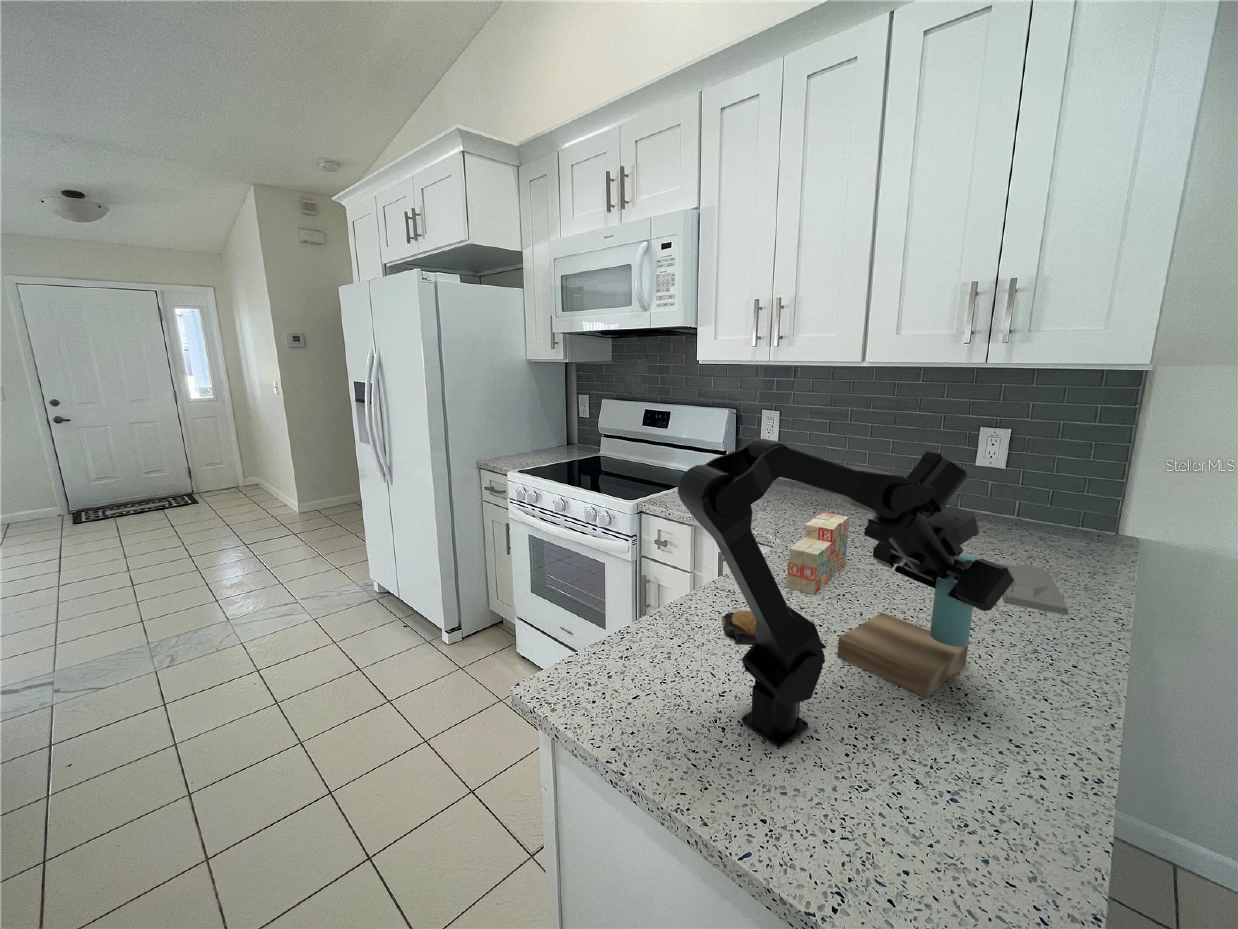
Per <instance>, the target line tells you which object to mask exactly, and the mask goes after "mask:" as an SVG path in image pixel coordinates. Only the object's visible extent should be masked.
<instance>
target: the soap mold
mask: <svg viewBox="0 0 1238 929" xmlns="http://www.w3.org/2000/svg"><path fill="white" fill-rule="evenodd" d="M998 564H999V565H1002V566H1004V567H1007V568H1008V570H1009V571H1010V572H1011V574H1012V575H1013V578H1014V581H1013V583H1012V584H1011V585H1010V587H1009V588H1008V589H1007V590H1006V592H1005V593H1004V594H1003V595H1002V597H1001V598H1002V601H1003V604H1006V605H1007V604H1008V605H1014V606H1018V607H1019V606H1020V607H1024V608H1029V609H1033V610H1039V611H1046V612H1050V613H1056V614H1061V615H1066V616H1069V608H1068V606H1067V604H1066V602H1065V601H1064V599H1063V597H1062V594H1061V592H1060V591H1059V589H1058V586H1057V585H1056V583H1055V581H1054V579H1053V578H1052V575H1051V574H1050V571H1049V570H1044V569H1043V568H1042V567H1038V566H1033V565H1030V564H1018V565H1017V564H1015V565H1014V564H1013V565H1012V564H1004V563H998Z"/></svg>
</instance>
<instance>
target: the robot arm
mask: <svg viewBox="0 0 1238 929" xmlns="http://www.w3.org/2000/svg"><path fill="white" fill-rule="evenodd" d="M780 477H782V478H785V479H788V480H791V481H795V482H797V483H801V484H804V485H808V486H810V487H814V488H817V489H821V490H825V491H828V492H830V493H832V494H834V495H835V496H836V497H837V498H839V499H840V500H842V501H844V502H845V503H846V504H849V505H851V506H852V507H855V508H858V509H861V510H864V511H867V512H870V513H871V514H874V516H873V517H872V518H868V520H867V525H866V526H865V528H864V532H863V535H864V536H865V537H867V538H870V539H871V540H872V539H873V540H875V541H877V542H878V543H877V544H876V545H875V546H874V547H873V549H872V557H873V559H874V560H875V561H876V562H877V564H880V565H882V566H884V567H886V568H888V569H890V570H891V569H893V568H894V567H895V568H894V571H895V572H896V573H898V574H900V575H902V576H903V577H906V578H908V579H911V580H913V581H915V582H918V583H921V584H922V585H925V586H928V587H930V588H932V589H934V590H935V587H936V579H937V578H940V579H942V580H944V581H946V580H947V579H948V578H949V576H953V577H954V578H953V580H954V581H955V582H957V583H955V584H954V585H955V586H954V587H953V588H952V590H951V591H950V592H949V593H948V596H950V597H952V598H954V599H956V600H959V601H961V602H963V603H966V604H969V605H971V606H973V608H976V609H978V610H980V611H982V612H989V611H992V609H993V608H994V607H995V606H996V605H997V604H998V602H999V600H1000V599H1001V598H1003V597H1002V595H1003V594H1004V593H1005V592H1006V590H1007V589H1008V588H1009V587H1010V585H1011V584H1012V583H1013V581H1014V578H1013V575H1012V574H1011V572H1010V571H1009V570H1008V568H1007V567H1004V566H1002V565H999V563H996V562H993V561H990V560H988V559H985V558H977V560H975V561H972V560H967V561H965V562H962V561H959V560H956V559H954V557H955V556H957V557H959V556H960V554H961V553H964V549H963V548H962V545H963V544H965V543H966V542H967V541H969V540H971V539H972V538H973V537H976V536H978V535H979V533H980V530H979V526H978V521H977V516H976V513H975V512H973V511H970V510H968V509H964V508H960V507H957V506H952V505H948V504H949V503H950V501H952V499H953V498H954V497H955V496H956V494H957V493H958V492H959V491H960V489H961V488H962V486H964V485H965V483H966V482H967V480H968V479H969V475H968V473H967V471H966V470H965V469H964V468H962V467H960V466H959V465H957V464H956V463H955V462H953V461H950V460H949V459H946V458H944V457H943V454H941V452H936V451H935V452H934V451H929V450H926V451H925V453H924V454H923V455H922V456H921V458H920V460H918V463H917V464H916V465H915V467H914V468H912V470H911V471H910V473H908V475H907V476H903V475H900V474H897V473H896V474H895V473H891V472H887V471H882V470H879V469H875V468H871V467H867V466H857V465H842V464H838V463H836V462H832V461H830V460H826V459H824V458H821V457H818V456H814V455H811V454H808V453H805V452H802V451H800V450H796V449H793V448H790V447H788V446H787V445H786V444H784V443H781V442H777V441H773V440H769V439H763V438H759V439H756V440H753V441H751V442H750V443H748V444H746V445H744V446H743V447H741V448H739V449H737V450H734V451H731V452H728V453H725V454H722V455H720V456H717V457H715V458H712V459H711V460H710V461H708V462H706V463H705V464H698V465H694V466H691V467H690V468H688V469H687V470H686V472H685V473H684V474H683V475H682V477H681V478H680V482H679V485H678V486H677V494H678V497H679V500H680V501H681V503H682V505H683V506H684V507H685V508H686V509H687V511H688V512H689V513H690V515H692V517H693V518H694V519H695V521H697V522H698V524H700V526H701V527H702V528H703V529H704V530H705V531H706V532H707V533H708V534H709V535H710V536H711V537H712V538H713V540H714V542H715V543H716V545H717V548H718V549H719V551H720V552H721V555H722V557H723V559H724V561H725V563H726V565H727V566H728V569H729V570H730V573H731V574H732V576H733V578H734V580H735V582H736V584H737V586H738V588H739V589H740V592H741V594H742V596H743V597H744V599H745V601H746V604H747V605H748V608H749V609H750V611H752V613H753V615H754V617H755V620H756V627H755V636H756V640H757V641H756V642H755V643H754V645H751V647H750V648H749V649H748V651H747V652H746V653H745V654H744V655H743V656H742V658H741V662H742V665H743V668H744V670H745V672H747V673H748V674H749V675H750V676H752V677H753V678H754V685H752V690H751V710H750V711H749V712H748V713H746V714H745V715H743V716H742V717H741V722H742V723H743V724H745V725H746V726H748V727H749V728H750V729H752V730H754V731H755V732H756V733H758V734H759V735H761V737H763V738H765V739H766V740H768V741H770V742H771V743H772V744H773V745H775V746H777V747H779V748H780V747H781V748H782V747H783V746H785V745H786V744H788V743H789V742H791V741H792V740H793V739H795V738H796V737H797V736H798V735H800V734H802V733H803V732H805V731H806V730H807V729H808V728H809V722H807V721H806V720H805V719H803V718H801V717H800V716H799V715H800V708H801V703H802V702H805V701H808V700H811V699H812V698H813V695H814V692H815V689H816V687H817V684H818V682H819V678H820V676H821V674H822V671H823V665H824V664H825V663H826V657H825V653H824V651H823V649H827V645H825V643H823V642H822V640H821V639H820V636H819V635H820V634H819V630H818V628H817V626H816V625H815V623H813V622H812V621H810V620H809V619H808V618H806V617H805V616H803V615H802V614H801V613H799V612H798V611H796V610H795V609H794V608H792V607H791V606H789V605H788V604H787V602H786V600H785V597H784V596H783V593H782V592H781V589H780V588H779V586H778V585H779V584H778V583H777V581H776V579H775V576H774V575H773V572H772V570H771V568H770V566H769V565H768V562H767V561H766V558H765V555H764V554H763V551H762V550H761V547H760V546H759V543H758V541H757V539H756V538H755V536H754V533H753V531H752V520H753V514H754V513H753V508H752V504H754V503H755V502H757V501H759V500H760V499H762V498H763V497H764V496H765V494H766V493H767V491H768V490H769V488H770V487H771V486H772V484H773V483H774V482H775V481H776V480H778V479H779V478H780ZM947 505H948V506H947ZM962 568H963V569H962Z"/></svg>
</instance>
